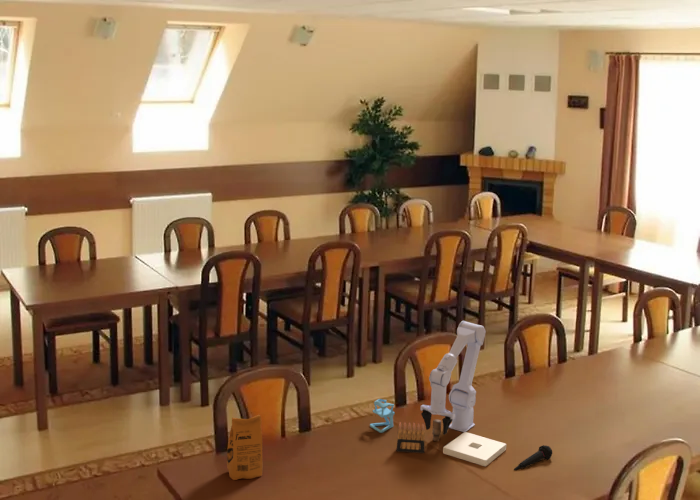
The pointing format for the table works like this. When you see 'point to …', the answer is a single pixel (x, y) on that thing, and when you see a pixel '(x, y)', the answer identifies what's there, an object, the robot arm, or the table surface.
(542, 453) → the microphone
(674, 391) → the table surface
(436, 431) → the walnut peg
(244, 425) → the coffee package
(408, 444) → the ammunition clip
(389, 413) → the light blue bar frame
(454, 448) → the cream board
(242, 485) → the table surface
